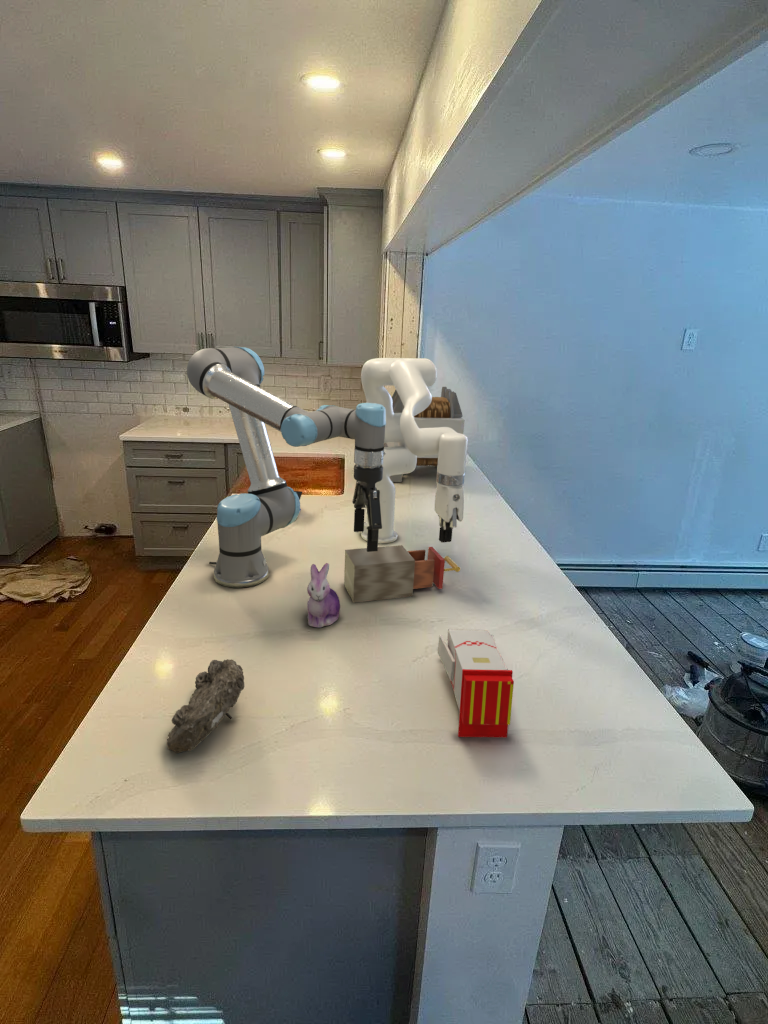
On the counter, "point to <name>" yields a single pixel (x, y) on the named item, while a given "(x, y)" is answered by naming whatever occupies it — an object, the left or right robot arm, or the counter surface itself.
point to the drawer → (430, 568)
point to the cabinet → (379, 573)
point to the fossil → (206, 705)
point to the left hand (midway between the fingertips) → (365, 540)
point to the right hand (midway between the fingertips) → (445, 540)
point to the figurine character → (299, 494)
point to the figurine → (321, 599)
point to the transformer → (432, 421)
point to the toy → (478, 682)
